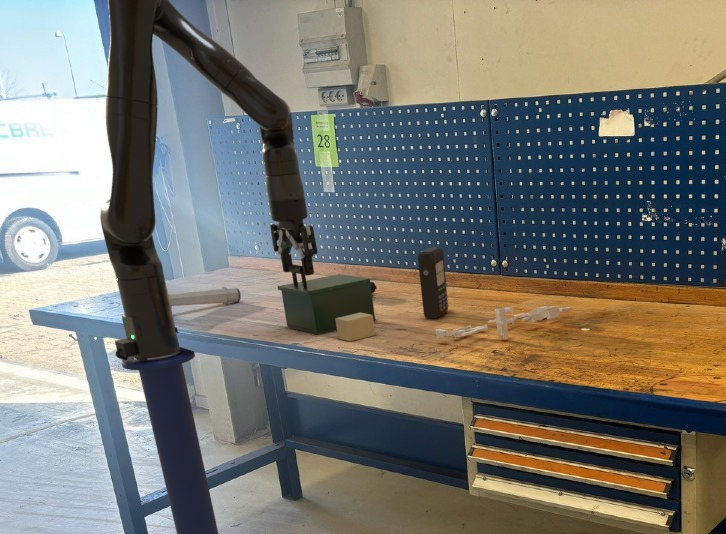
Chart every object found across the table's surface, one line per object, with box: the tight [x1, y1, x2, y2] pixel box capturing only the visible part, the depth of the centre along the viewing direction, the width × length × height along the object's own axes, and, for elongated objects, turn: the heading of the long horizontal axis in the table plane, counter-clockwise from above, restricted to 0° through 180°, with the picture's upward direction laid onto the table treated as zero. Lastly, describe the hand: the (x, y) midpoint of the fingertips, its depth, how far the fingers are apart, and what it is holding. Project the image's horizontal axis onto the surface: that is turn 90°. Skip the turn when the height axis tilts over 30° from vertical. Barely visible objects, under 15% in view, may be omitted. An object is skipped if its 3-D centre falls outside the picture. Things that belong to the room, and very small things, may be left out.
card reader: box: [417, 246, 449, 319], centre depth 194 cm, size 9×4×15 cm, turn 168°
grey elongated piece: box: [434, 305, 574, 341], centre depth 177 cm, size 6×35×12 cm
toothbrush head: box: [168, 286, 242, 310], centre depth 219 cm, size 5×7×25 cm
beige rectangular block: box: [335, 313, 376, 342], centre depth 181 cm, size 6×5×4 cm
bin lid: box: [276, 264, 371, 295], centre depth 191 cm, size 16×13×6 cm
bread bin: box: [280, 281, 376, 335], centre depth 194 cm, size 16×13×9 cm
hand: (298, 273), depth 187 cm, fingers open, 8 cm apart
